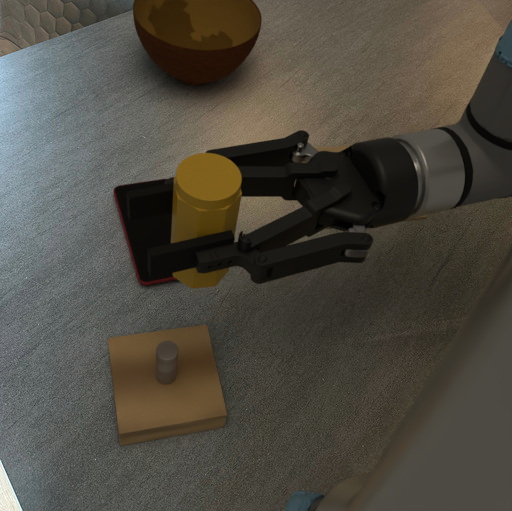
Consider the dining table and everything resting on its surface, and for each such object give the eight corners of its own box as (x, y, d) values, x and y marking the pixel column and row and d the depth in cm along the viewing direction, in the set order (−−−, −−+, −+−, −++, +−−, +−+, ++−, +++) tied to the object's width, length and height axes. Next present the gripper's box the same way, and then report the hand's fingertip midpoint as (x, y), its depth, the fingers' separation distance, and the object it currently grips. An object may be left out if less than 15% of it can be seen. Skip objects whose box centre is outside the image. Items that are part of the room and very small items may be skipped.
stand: (224, 427, 61) (233, 391, 55) (120, 446, 59) (116, 411, 52) (204, 338, 67) (210, 297, 60) (109, 352, 64) (104, 310, 58)
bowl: (250, 117, 89) (260, 57, 81) (125, 102, 88) (123, 40, 80) (253, 45, 100) (262, -14, 92) (142, 30, 98) (141, -31, 91)
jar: (231, 285, 53) (247, 198, 45) (175, 290, 52) (180, 202, 44) (221, 241, 56) (235, 151, 47) (167, 245, 55) (171, 154, 46)
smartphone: (139, 284, 68) (111, 185, 76) (139, 289, 69) (112, 191, 77) (204, 271, 71) (170, 177, 79) (203, 276, 71) (170, 182, 79)
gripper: (434, 284, 54) (172, 359, 46) (341, 141, 63) (111, 184, 55) (470, 228, 48) (176, 303, 40) (361, 80, 57) (106, 118, 49)
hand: (139, 234), depth 48 cm, fingers closed on jar, 5 cm apart
